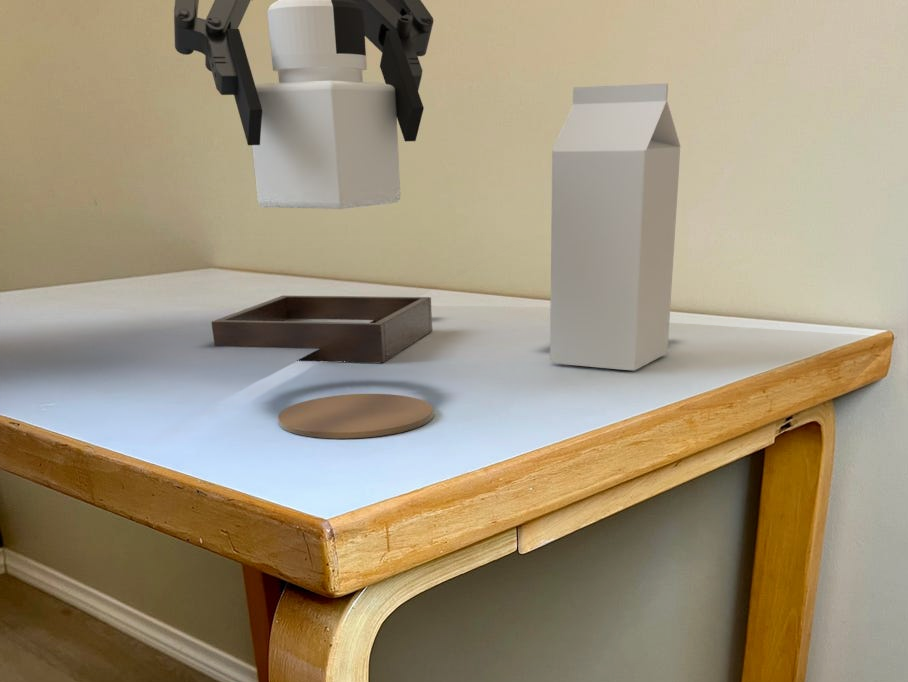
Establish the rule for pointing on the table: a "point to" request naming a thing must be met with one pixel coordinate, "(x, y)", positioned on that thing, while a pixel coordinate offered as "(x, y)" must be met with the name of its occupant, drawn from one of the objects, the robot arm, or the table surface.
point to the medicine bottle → (324, 113)
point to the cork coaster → (356, 416)
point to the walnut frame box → (329, 326)
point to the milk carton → (613, 227)
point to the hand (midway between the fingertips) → (336, 126)
